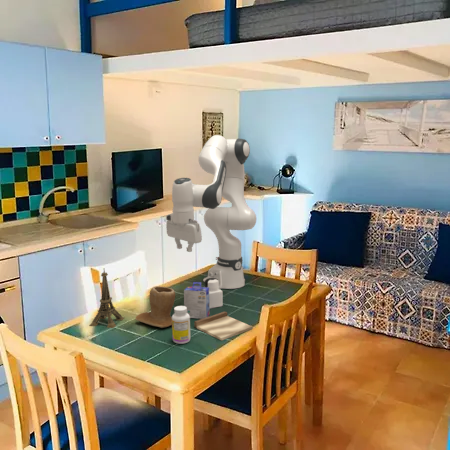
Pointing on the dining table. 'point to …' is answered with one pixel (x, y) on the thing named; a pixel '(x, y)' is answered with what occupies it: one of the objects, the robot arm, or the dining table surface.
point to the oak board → (221, 326)
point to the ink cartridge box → (197, 301)
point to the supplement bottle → (181, 325)
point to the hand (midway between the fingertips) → (184, 250)
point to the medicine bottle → (214, 293)
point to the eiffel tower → (106, 306)
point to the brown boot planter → (159, 307)
